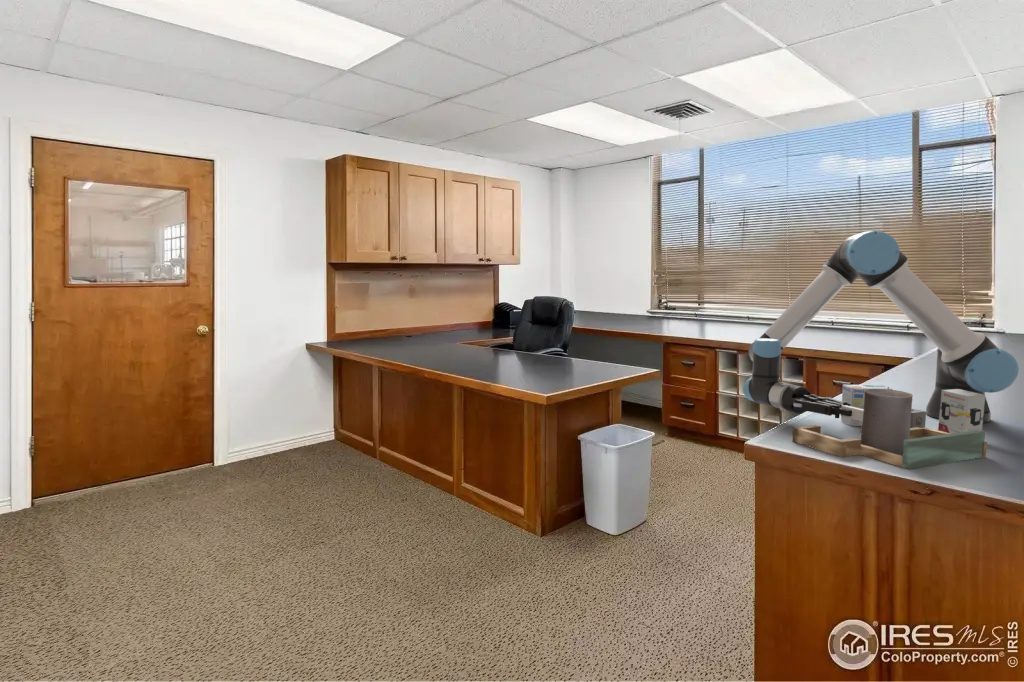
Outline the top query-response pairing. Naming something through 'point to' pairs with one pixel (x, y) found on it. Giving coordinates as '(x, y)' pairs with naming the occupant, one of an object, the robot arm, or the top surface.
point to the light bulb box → (856, 399)
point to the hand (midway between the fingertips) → (866, 416)
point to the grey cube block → (917, 418)
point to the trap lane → (917, 450)
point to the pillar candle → (886, 419)
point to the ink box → (961, 411)
